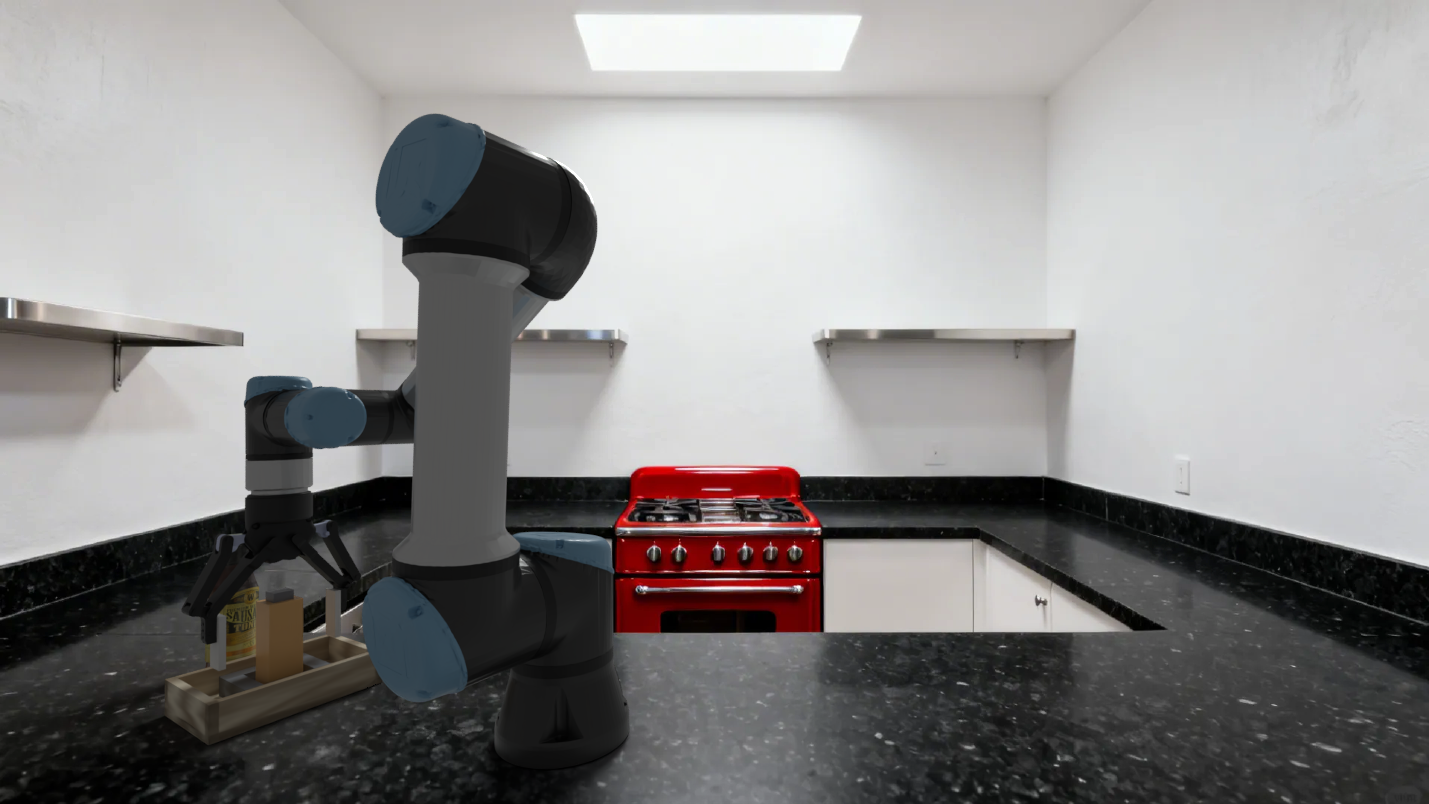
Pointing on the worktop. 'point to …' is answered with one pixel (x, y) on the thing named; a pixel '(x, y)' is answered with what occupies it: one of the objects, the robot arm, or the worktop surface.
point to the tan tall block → (279, 635)
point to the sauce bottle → (238, 613)
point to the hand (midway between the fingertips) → (279, 650)
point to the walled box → (266, 689)
